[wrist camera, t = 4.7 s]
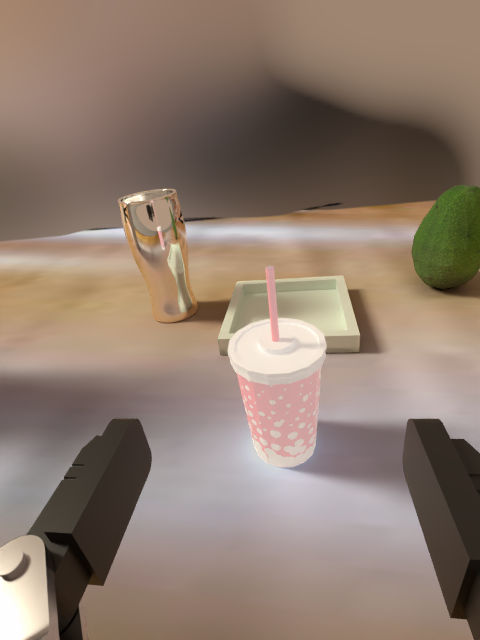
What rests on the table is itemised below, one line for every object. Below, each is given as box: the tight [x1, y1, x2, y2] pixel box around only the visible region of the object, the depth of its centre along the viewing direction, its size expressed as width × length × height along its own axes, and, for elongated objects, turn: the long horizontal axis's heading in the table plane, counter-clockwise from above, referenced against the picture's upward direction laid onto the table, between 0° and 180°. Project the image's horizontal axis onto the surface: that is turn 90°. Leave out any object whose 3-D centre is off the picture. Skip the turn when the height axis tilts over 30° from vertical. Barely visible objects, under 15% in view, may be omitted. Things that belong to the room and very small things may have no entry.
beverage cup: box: [228, 266, 327, 468], centre depth 23 cm, size 6×6×14 cm
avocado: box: [412, 185, 480, 289], centre depth 41 cm, size 8×8×12 cm
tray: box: [218, 276, 360, 355], centre depth 41 cm, size 14×14×2 cm
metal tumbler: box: [118, 189, 198, 323], centre depth 43 cm, size 7×7×15 cm
